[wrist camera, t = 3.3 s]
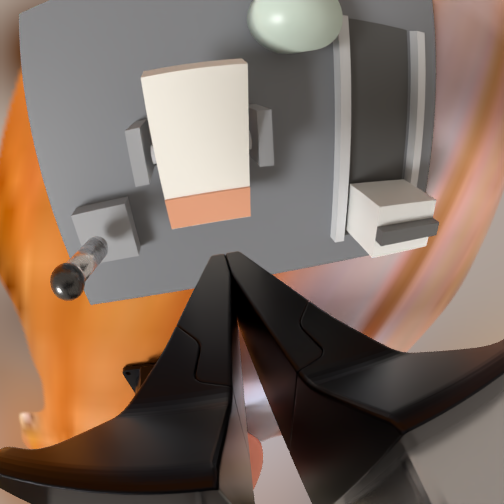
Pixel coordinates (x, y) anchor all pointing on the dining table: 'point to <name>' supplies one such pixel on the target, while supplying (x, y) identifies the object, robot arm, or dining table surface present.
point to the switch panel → (260, 126)
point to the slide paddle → (390, 216)
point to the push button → (294, 24)
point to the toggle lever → (78, 269)
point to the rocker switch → (201, 139)
